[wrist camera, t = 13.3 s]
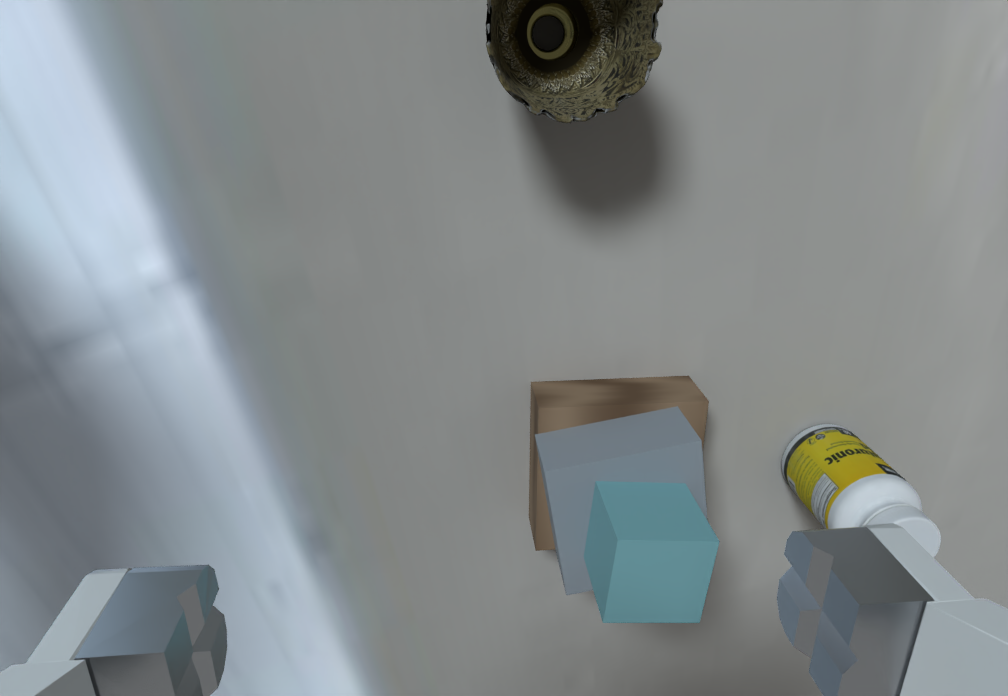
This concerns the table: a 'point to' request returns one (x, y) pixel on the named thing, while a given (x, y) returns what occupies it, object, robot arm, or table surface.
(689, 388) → the walnut base block
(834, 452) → the supplement bottle
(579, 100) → the cup
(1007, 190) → the table surface
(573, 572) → the grey top block
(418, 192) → the table surface
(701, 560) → the teal cube
